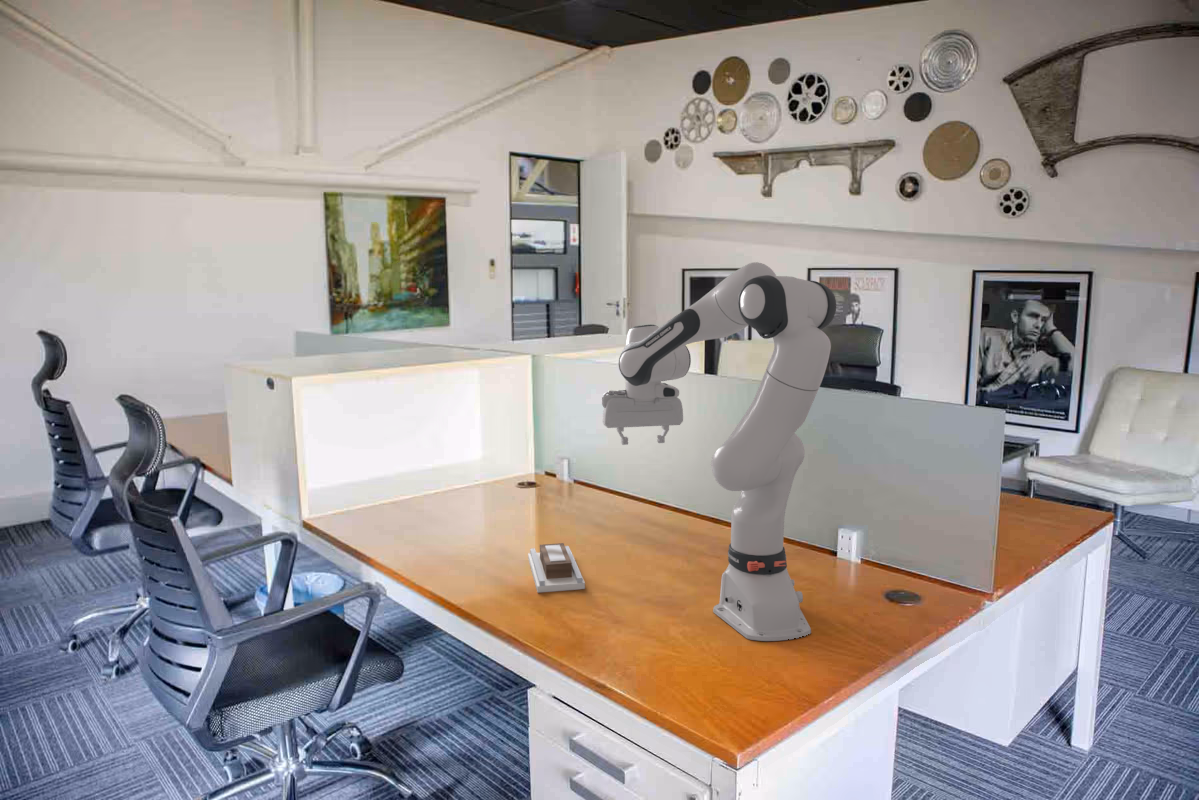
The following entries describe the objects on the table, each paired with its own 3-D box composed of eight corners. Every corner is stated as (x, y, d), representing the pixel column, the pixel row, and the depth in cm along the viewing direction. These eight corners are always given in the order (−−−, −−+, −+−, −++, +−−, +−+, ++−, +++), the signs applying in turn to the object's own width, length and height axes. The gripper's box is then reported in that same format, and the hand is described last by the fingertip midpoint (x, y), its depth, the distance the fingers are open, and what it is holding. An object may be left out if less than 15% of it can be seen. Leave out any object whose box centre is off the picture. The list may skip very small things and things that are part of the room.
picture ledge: (584, 588, 189) (584, 577, 189) (537, 592, 187) (537, 581, 187) (570, 555, 210) (570, 545, 210) (528, 558, 208) (528, 548, 208)
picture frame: (571, 577, 192) (571, 562, 192) (546, 579, 191) (546, 563, 191) (563, 556, 206) (563, 542, 205) (539, 558, 205) (539, 544, 204)
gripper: (604, 392, 200) (604, 448, 202) (685, 390, 203) (684, 444, 206) (599, 388, 206) (600, 442, 208) (678, 386, 209) (677, 439, 212)
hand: (642, 443), depth 207 cm, fingers open, 8 cm apart
